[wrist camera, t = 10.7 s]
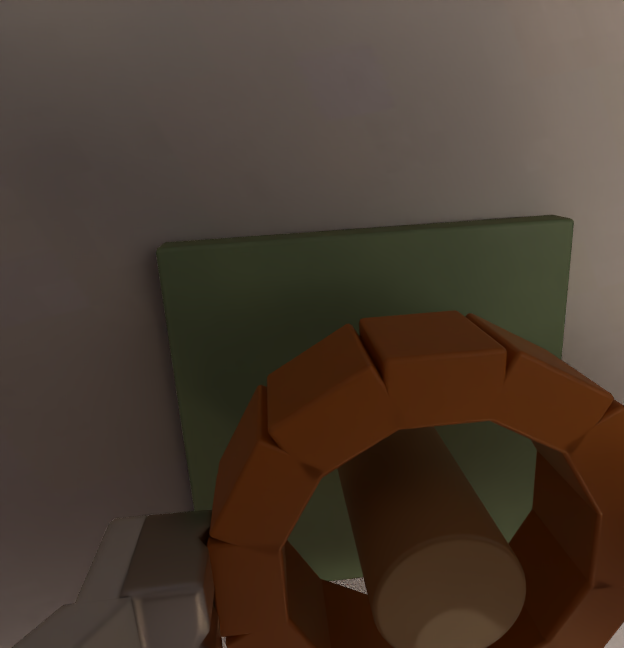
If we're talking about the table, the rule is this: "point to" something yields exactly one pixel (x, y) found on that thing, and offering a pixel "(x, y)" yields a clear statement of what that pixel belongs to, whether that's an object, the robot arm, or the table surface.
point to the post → (404, 445)
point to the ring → (406, 413)
